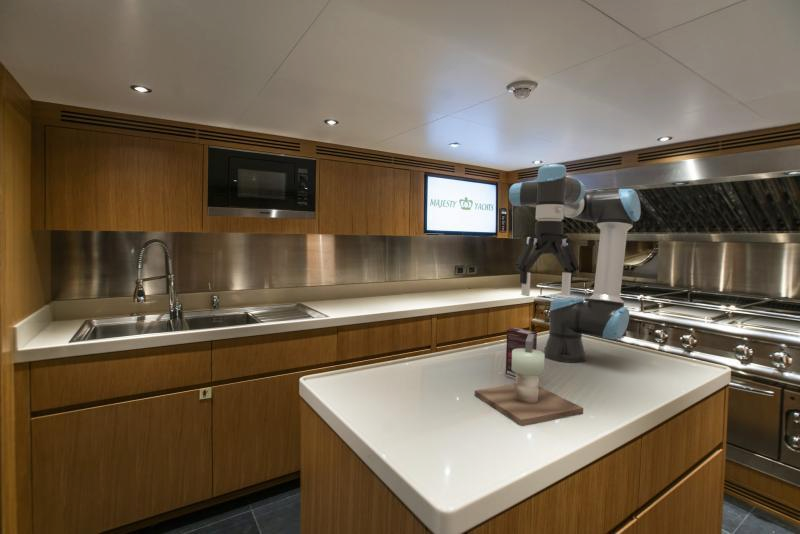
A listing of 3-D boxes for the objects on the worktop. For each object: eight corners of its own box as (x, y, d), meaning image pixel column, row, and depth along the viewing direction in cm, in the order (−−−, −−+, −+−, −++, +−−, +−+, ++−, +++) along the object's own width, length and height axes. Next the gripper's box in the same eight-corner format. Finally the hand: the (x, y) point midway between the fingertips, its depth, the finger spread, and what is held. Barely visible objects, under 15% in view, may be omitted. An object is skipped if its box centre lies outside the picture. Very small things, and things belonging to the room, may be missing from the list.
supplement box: (536, 381, 125) (538, 332, 124) (526, 384, 123) (528, 333, 122) (514, 373, 132) (515, 327, 131) (504, 376, 130) (506, 328, 129)
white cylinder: (543, 377, 101) (544, 347, 101) (509, 372, 104) (510, 343, 104) (545, 362, 114) (546, 335, 114) (515, 358, 117) (516, 332, 117)
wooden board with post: (474, 395, 113) (475, 364, 112) (530, 386, 120) (531, 357, 120) (521, 425, 94) (522, 389, 94) (583, 413, 102) (584, 379, 101)
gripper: (519, 217, 104) (515, 297, 105) (595, 222, 111) (591, 296, 113) (503, 219, 111) (500, 294, 112) (576, 223, 119) (572, 293, 120)
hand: (545, 295), depth 113 cm, fingers open, 13 cm apart
